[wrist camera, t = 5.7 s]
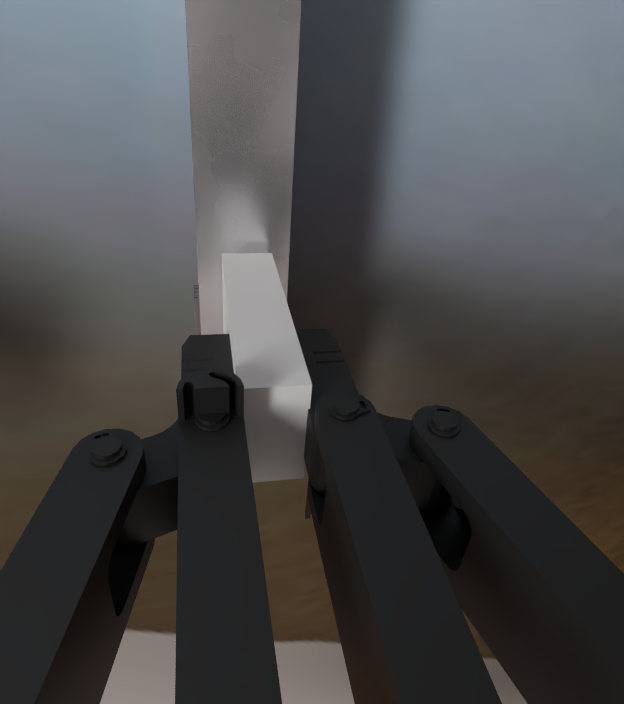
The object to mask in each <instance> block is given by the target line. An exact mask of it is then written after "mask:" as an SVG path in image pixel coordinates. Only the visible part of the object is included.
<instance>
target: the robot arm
mask: <svg viewBox="0 0 624 704" xmlns="http://www.w3.org/2000/svg"><path fill="white" fill-rule="evenodd" d="M222 288H223V333H224V334H210V335H190V336H189V338H188V339H187V340H186V342H185V343H184V344H183V346H182V372H181V380H180V381H179V383H178V386H177V389H176V393H177V405H178V419H177V421H176V422H175V423H174V424H173V425H172V426H171V427H170V428H168V429H166V430H165V431H163V432H161V433H159V434H156V435H154V436H151V437H147V438H144V439H140V437H138V436H137V435H135V434H134V433H133V432H131V431H127V430H123V429H105V430H102V431H98V432H95V433H92V434H90V435H88V436H87V437H85V438H83V439H82V440H80V441H79V442H78V444H77V445H76V446H75V447H74V448H73V449H72V451H71V453H70V454H69V456H68V458H67V459H66V461H65V463H64V464H63V466H62V468H61V469H60V471H59V473H58V475H57V476H56V478H55V480H54V481H53V483H52V485H51V486H50V488H49V490H48V491H47V493H46V495H45V497H44V498H43V500H42V502H41V503H40V505H39V507H38V508H37V510H36V512H35V514H34V515H33V517H32V519H31V520H30V522H29V524H28V525H27V527H26V529H25V530H24V532H23V534H22V536H21V537H20V539H19V541H18V542H17V544H16V546H15V547H14V549H13V551H12V552H11V554H10V556H9V558H8V559H7V561H6V563H5V564H4V566H3V568H2V569H1V571H0V704H100V701H101V698H102V695H103V692H104V689H105V686H106V683H107V680H108V677H109V674H110V672H111V669H112V665H113V663H114V660H115V657H116V654H117V651H118V648H119V645H120V642H121V639H122V637H123V634H124V631H125V628H126V625H127V622H128V619H129V616H130V613H131V610H132V607H133V605H134V602H135V599H136V596H137V593H138V590H139V587H140V584H141V581H142V578H143V575H144V572H145V570H146V567H147V564H148V561H149V558H150V555H151V552H152V549H153V546H154V542H155V538H157V537H159V536H162V535H164V534H167V533H169V532H172V531H175V530H177V607H176V685H175V687H176V688H175V704H282V700H281V692H280V685H279V677H278V670H277V662H276V655H275V647H274V640H273V632H272V625H271V617H270V610H269V602H268V595H267V587H266V580H265V572H264V565H263V557H262V550H261V542H260V535H259V527H258V520H257V512H256V505H255V497H254V490H253V483H254V482H265V481H276V480H287V479H298V478H304V469H305V465H306V469H307V473H308V477H309V480H308V490H307V500H306V510H305V519H307V518H310V514H312V518H313V522H314V527H315V531H316V536H317V540H318V544H319V549H320V553H321V558H322V562H323V566H324V571H325V575H326V579H327V584H328V588H329V593H330V597H331V601H332V606H333V610H334V615H335V619H336V623H337V628H338V632H339V637H340V641H341V645H342V649H343V654H344V658H345V663H346V667H347V672H348V676H349V680H350V685H351V689H352V694H353V698H354V702H355V704H502V703H501V701H500V698H499V696H498V694H497V691H496V689H495V687H494V684H493V682H492V680H491V677H490V675H489V673H488V670H487V668H486V666H485V663H484V661H483V659H482V656H481V654H480V652H479V649H478V647H477V645H476V642H475V640H474V638H473V635H472V633H471V631H470V628H469V626H468V624H467V621H466V619H465V617H464V614H463V612H462V610H463V611H464V613H465V614H466V616H467V617H468V618H469V620H470V621H471V623H472V624H473V626H474V627H475V629H476V630H477V631H478V633H479V634H480V636H481V637H482V639H483V640H484V641H485V643H486V644H487V646H488V647H489V649H490V650H491V652H492V653H493V654H494V656H495V657H496V659H497V660H498V662H499V663H500V664H501V666H502V667H503V669H504V670H505V672H506V673H507V675H508V676H509V677H510V679H511V680H512V682H513V683H514V685H515V686H516V687H517V689H518V690H519V692H520V693H521V695H522V696H523V697H524V699H525V700H526V702H527V703H528V704H624V574H623V573H622V572H621V571H620V570H619V569H618V568H617V567H616V566H615V565H614V564H613V563H612V562H611V561H610V560H609V559H608V558H607V557H606V556H605V555H604V554H603V553H602V552H601V551H600V550H599V549H598V548H597V547H596V546H595V545H594V544H593V543H592V542H591V541H590V540H589V539H588V538H587V537H586V536H585V535H584V534H583V533H582V532H581V531H580V530H579V529H578V528H577V527H576V526H575V525H574V524H573V523H572V522H571V521H570V520H569V519H568V518H567V517H566V516H565V515H564V514H563V513H562V512H561V511H560V510H559V509H558V508H557V507H556V506H555V505H554V504H553V503H552V502H551V501H550V500H549V499H548V498H547V497H546V496H545V495H544V494H543V493H542V492H541V491H540V490H539V489H538V488H537V487H536V486H535V485H534V484H533V483H532V482H531V481H530V480H529V479H528V478H527V477H526V476H525V475H524V474H523V473H522V472H521V471H520V470H519V469H518V468H517V467H516V466H515V465H514V464H513V463H512V462H511V461H510V460H509V459H508V458H507V457H506V456H505V455H504V454H503V453H502V452H501V451H500V450H499V448H498V447H497V446H496V445H495V444H494V443H493V442H492V441H491V440H490V439H489V438H488V437H487V436H486V435H485V434H484V433H483V432H482V431H481V430H480V429H479V428H478V427H477V426H476V425H475V424H474V423H473V422H472V421H471V420H470V419H469V418H467V417H466V416H465V415H463V414H462V413H461V412H459V411H457V410H454V409H452V408H449V407H444V406H438V405H435V406H426V407H423V408H421V409H419V410H417V412H416V413H415V414H414V416H413V419H412V420H406V419H400V418H394V417H389V416H385V415H382V414H380V413H377V412H376V409H375V407H374V406H373V405H372V403H371V402H370V401H369V400H367V399H366V398H364V397H363V396H361V395H359V394H358V392H357V389H356V387H355V384H354V382H353V379H352V377H351V374H350V372H349V370H348V367H347V365H346V363H345V360H344V357H343V355H342V353H341V350H340V348H339V345H338V343H337V340H336V339H335V338H334V337H333V336H332V335H331V334H330V333H328V332H327V331H326V330H325V329H308V330H295V327H294V324H293V320H292V317H291V314H290V311H289V307H288V304H287V301H286V297H285V294H284V291H283V288H282V284H281V281H280V278H279V274H278V271H277V268H276V265H275V261H274V258H273V255H272V253H222ZM461 608H462V610H461Z"/></svg>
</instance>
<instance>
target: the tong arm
mask: <svg viewBox="0 0 624 704" xmlns="http://www.w3.org/2000/svg"><path fill="white" fill-rule="evenodd" d="M185 8H186V29H187V51H188V72H189V93H190V114H191V135H192V156H193V177H194V198H195V219H196V240H197V261H198V282H199V304H200V325H201V335H210V334H224V333H223V288H222V253H272V255H273V258H274V261H275V265H276V268H277V271H278V274H279V278H280V281H281V284H282V288H283V291H284V294H285V297H286V301H287V289H288V268H289V247H290V227H291V206H292V185H293V164H294V144H295V123H296V102H297V81H298V60H299V40H300V19H301V0H185Z"/></svg>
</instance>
